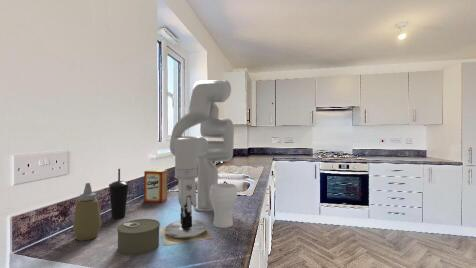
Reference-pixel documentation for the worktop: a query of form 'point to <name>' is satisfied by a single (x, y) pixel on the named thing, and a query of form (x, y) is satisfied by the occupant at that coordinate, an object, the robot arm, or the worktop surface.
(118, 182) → the drinking cup
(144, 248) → the can
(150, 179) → the baking soda box
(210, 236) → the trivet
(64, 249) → the worktop surface
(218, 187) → the cup
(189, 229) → the lid
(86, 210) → the squeeze bottle
